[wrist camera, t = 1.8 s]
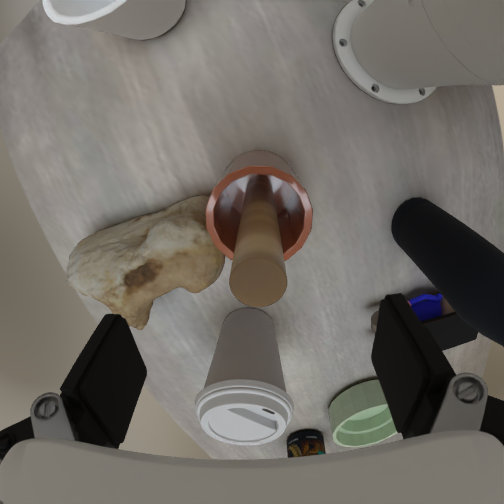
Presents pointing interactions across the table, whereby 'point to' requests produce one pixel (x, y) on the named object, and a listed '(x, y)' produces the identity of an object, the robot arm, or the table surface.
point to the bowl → (361, 416)
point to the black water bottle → (455, 263)
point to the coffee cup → (245, 383)
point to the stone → (147, 260)
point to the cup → (118, 15)
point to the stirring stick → (258, 249)
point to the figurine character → (438, 321)
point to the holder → (285, 195)
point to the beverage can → (305, 444)
